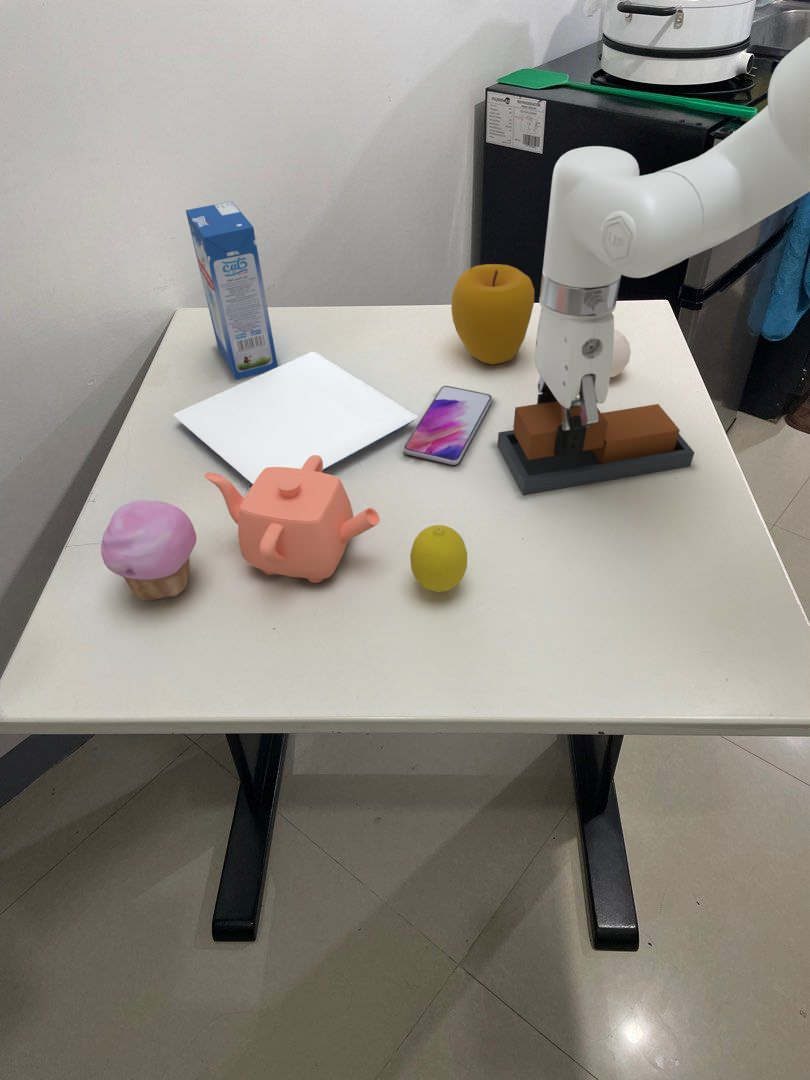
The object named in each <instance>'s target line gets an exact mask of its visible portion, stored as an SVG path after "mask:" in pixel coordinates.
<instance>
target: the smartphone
mask: <svg viewBox="0 0 810 1080" xmlns="http://www.w3.org/2000/svg"><path fill="white" fill-rule="evenodd" d="M492 402H493V396H492V395H491V394H489V393H485V392H479V391H474V390H470V389H465V388H460V387H455V386H450V385H443V386H441V387H440V389H439V390H438V391H437V393H436V395H435V397H434V398H433V399H432V401H431V403H430V404H429V406H428V407H427V409H426V411H425V412H424V414H423V415H422V417H421V419H419V421H418V423H417V425H416V427H415V428H414V429H413V431H412V433H411V434H410V436H409V437H408V439H407V441H406V442H405V444H404V445H403V447H402V449H403V453H404V454H406V455H408V456H412V457H417V458H421V459H426V460H430V461H435V462H439V463H443V464H447V465H453V466H454V465H458V464H459V463H460V462H461V460H462V459H463V456H464V455H465V453H466V451H467V449H468V447H469V445H470V444H471V441H472V439H473V438H474V435H476V432H477V430H478V429H479V426H480V425H481V423H482V420H484V419H483V418H484V417H485V416H486V413H487V412H488V410H489V408H490V406H491V404H492Z"/></svg>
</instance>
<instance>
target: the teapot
mask: <svg viewBox="0 0 810 1080" xmlns="http://www.w3.org/2000/svg"><path fill="white" fill-rule="evenodd" d="M203 476H204V478H205V479H206V480H207V481H209V482H210V483H212V484H214V485H215V486H216V487H217V488H218V490H219V491H220V493H221V495H222V497H223V499H224V502H225V505H226V508H227V510H228V513H229V515H230V517H231V519H232V520H233V522H234V523H235V524H236V525H237V534H238V544H239V550H240V553H241V556H242V558H243V559H244V560H245V561H246V562H247V564H248V565H250V566H251V567H253V568H256V569H258V570H261V571H262V572H263V573H264V574H266V575H270V576H271V575H280V576H285V577H293V578H301V579H302V578H303V579H306V580H307V581H309V582H310V583H313V584H317V583H320V582H322V581H324V580H325V579H328V578H330V577H331V576H332V575H333V574H334V573H335V571H336V569H337V567H338V565H339V563H340V561H341V560H342V557H343V555H344V553H345V551H346V548H347V546H348V544H349V541H352V540H353V539H354V538H356V537H358V536H360V535H361V534H363V533H366V532H367V531H368V530H370V529H372V528H374V527H376V526H378V525H379V524H380V515H379V513H378V512H377V511H376V509H374V508H373V507H368V508H366V509H364V510H362V511H361V512H359V513H357V514H356V515H354V512H353V507H352V504H351V501H350V498H349V495H348V493H347V491H346V488H345V487H344V484H343V483H342V480H341V479H340V478H339V477H337V476H335V475H333V474H330V473H326V472H324V470H323V461H322V458H321V457H320V456H318V455H312V456H311V457H309V458H308V459H307V461H306V462H305V464H304V465H303V467H302V469H297V468H287V467H268V468H265V469H264V470H263V471H262V472H261V473H260V475H259V476H258V478H257V479H256V481H255V482H254V484H252V486H251V487H250V489H249V490H248V491H247V494H246V495H245V497H244V496H243V495H242V494H241V493H240V492H239V491H238V489H237V488H236V487H235V485H233V483H232V481H230V480H229V479H228V478H226V477H225V476H223V475H221V474H220V473H219V474H218V473H216V472H205V473H204V475H203Z"/></svg>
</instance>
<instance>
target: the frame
mask: <svg viewBox="0 0 810 1080" xmlns="http://www.w3.org/2000/svg"><path fill="white" fill-rule="evenodd" d="M497 447H498V449H499V451H500V453H501V455H502V457H503V459H504V461H505V462H506V465H507V467H508V468H509V471H510V473H511V474H512V475H511V476H513V478H514V481H515V482H516V484H517V486H518V488H519V490H520V492H521V494H522V496H525V495H530V494H537V493H541V492H548V491H553V490H560V489H565V488H570V487H571V488H572V487H577V486H582V485H588V484H593V483H599V482H606V481H611V480H616V479H617V480H618V479H623V478H629V477H634V476H635V477H636V476H640V475H647V474H651V473H656V472H662V471H668V470H674V469H675V470H676V469H680V468H685V467H691V465H692V462H693V458H694V456H695V451H694V450H693V449H692V448H691V446H690V445H689V444H688V442H687V441H686V440H685V439H684V438H683V437H682V436H681V434H680V433H679V435H678V438H677V442H676V446H675V449H674V452H668V453H662V454H656V455H651V456H645V457H639V458H633V459H627V460H621V461H615V462H610V463H604V464H601V463H600V462H599V460H598V459H597V457H596V456H595V454H594V453H593V451H592V450H585V451H582V452H581V453H579V454H574V455H568V456H562V457H556V455H555V456H549V457H543V458H537V459H531V460H528V458H527V456H526V455H525V453H524V451H523V449H522V447H521V445H520V444H519V442H518V440H517V438H516V436H515V434H514V433H513V429H511V430H504V431H499V432H498V433H497Z"/></svg>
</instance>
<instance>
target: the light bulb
mask: <svg viewBox="0 0 810 1080" xmlns="http://www.w3.org/2000/svg"><path fill="white" fill-rule="evenodd" d="M631 353H632V351H631V346H630V342H629V341H628V339H627V338H626V336H625V335H624V334H623V333H621V332H620V331H619V330H616V329H614V344H613V356H612V365H611V373H610V378H614V377H616V376H618V375H619V374H621V373H622V372H623V371H624V370H625V369H626V368H627V366H628V364H629V362H630V359H631Z"/></svg>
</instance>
